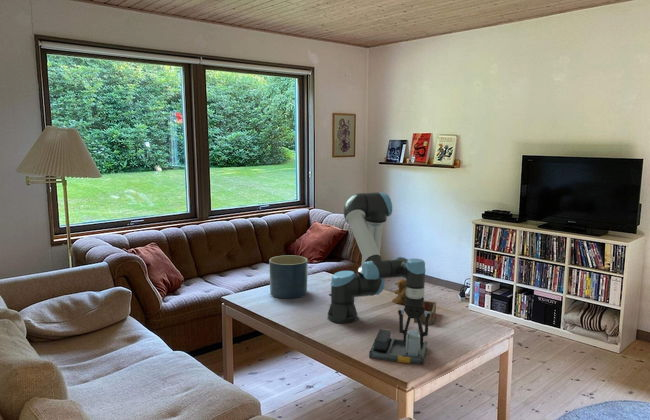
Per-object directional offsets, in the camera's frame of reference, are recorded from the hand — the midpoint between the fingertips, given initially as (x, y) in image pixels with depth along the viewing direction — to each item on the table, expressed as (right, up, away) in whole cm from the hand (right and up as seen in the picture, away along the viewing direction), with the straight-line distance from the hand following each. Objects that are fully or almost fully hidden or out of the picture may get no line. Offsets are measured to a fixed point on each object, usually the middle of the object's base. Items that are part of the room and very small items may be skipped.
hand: (412, 349), depth 207 cm
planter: (-58, +10, +81) cm, 100 cm away
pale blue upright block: (0, -1, 0) cm, 1 cm away
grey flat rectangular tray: (-6, -2, +2) cm, 6 cm away
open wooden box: (+14, +4, +43) cm, 46 cm away
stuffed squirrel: (+7, +7, +64) cm, 65 cm away
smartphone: (-27, +9, +81) cm, 86 cm away
